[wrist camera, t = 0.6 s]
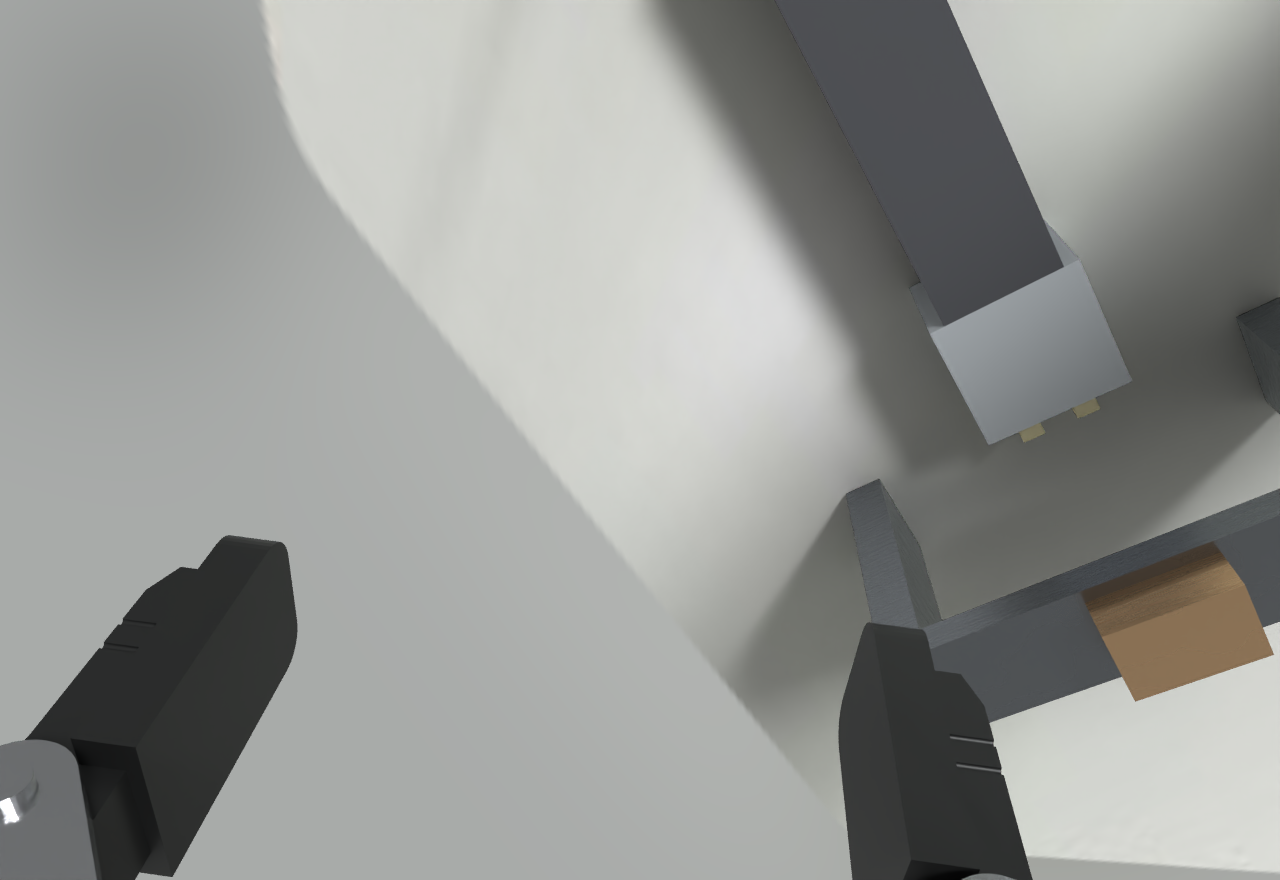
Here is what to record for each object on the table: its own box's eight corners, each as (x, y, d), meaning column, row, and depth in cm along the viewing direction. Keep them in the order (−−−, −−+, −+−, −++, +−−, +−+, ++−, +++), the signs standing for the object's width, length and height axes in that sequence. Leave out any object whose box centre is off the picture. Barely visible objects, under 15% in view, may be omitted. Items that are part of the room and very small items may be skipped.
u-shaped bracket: (1279, 297, 34) (1507, 474, 24) (1308, 383, 36) (1532, 581, 26) (845, 493, 40) (888, 702, 30) (887, 560, 41) (941, 778, 32)
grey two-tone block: (849, -221, 27) (868, -232, 24) (1105, 362, 36) (1146, 415, 33) (698, -112, 29) (695, -109, 26) (978, 420, 38) (1005, 476, 34)
